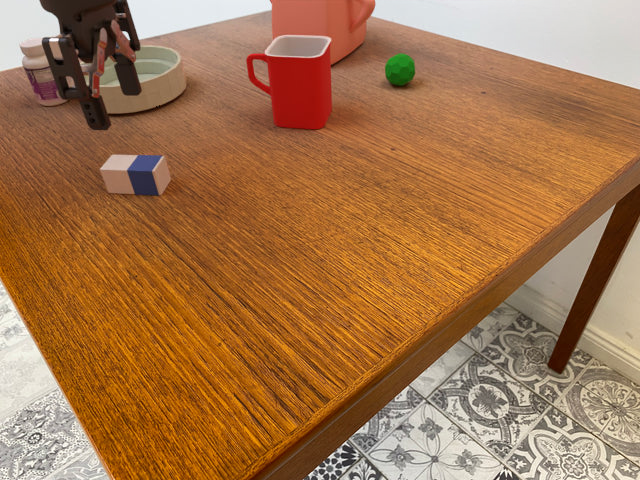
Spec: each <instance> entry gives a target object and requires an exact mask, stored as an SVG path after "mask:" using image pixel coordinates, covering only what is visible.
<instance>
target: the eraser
mask: <svg viewBox="0 0 640 480" xmlns="http://www.w3.org/2000/svg"><path fill="white" fill-rule="evenodd" d="M99 172H100V175H101V177H102V179H103V183H104V185H105V187H106V190H107V193H108V194H119V195H120V194H121V195H122V194H124V195H126V194H127V195H128V194H129V195H137V196H157V197H158V196H162V195H163V194H164V192H165V190H166V189H167V187H168V185H169V184H170V182H171V181H172V177H171V174H170V170H169V167H168V163H167V160H166V155H159V154H157V155H156V154H154V155H153V154H137V155H136V154H111V155H110V156H109V158H108V159H107V160H106V161H105V162H104V164H103V165H102V166H101V167H100V168H99Z"/></svg>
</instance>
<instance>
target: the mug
mask: <svg viewBox="0 0 640 480" xmlns="http://www.w3.org/2000/svg"><path fill="white" fill-rule="evenodd" d="M330 45H331V38H329V37H326V36H307V35H282V36H278V37H277V38H275V39H274V40H273V39H272V41H271V43H270V44H269V45H268V46H267V48H265V50H264V53H249V54H248V55H247V57H246V61H245V62H246V69H247V76H248V79H249V82H250V83H251V84H252V85H254V86H255V87H257V88H258V89H259V90H261V91H262V92H264V93H266V94H267V95H269V96H270V101H271V108H272V109H271V111H272V117H273V124H274V125H275V126H276V127H279V128H284V129H285V128H286V129H301V130H302V129H303V130H319V129H322V128H323V127H325V126H326V124H327V122H328V120H329V118H330V115H331V113H332V111H333V101H332V100H333V99H332V98H333V97H332V96H333V95H332V93H333V91H332V67H331V61H330ZM254 60H258V61H262V62H264V63H266V65H267V74H268V75H267V76H268V80H269V81H268V83H269V85H266V84H265V83H263V82H262V81H260V80H259V79H258V78H257V76H256V75H255V69H254Z"/></svg>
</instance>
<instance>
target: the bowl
mask: <svg viewBox="0 0 640 480" xmlns="http://www.w3.org/2000/svg"><path fill="white" fill-rule="evenodd" d="M140 46H141V48H140V51H135V55H136V61H135V62H134V65H135V68H136V72H137V75H138V78H139V82H140V85H141V89H142V92H141V93H140V94H139V95H138V96H126V95H124V94H123V93H122V90H121V87H120V84H119V80H118V77H117V74H116V71H115V68H114V65H115V64H116V63H117V62H113V61H112V60H111V59H110V57H109V56H108V58H107V60H106V61H105V62H104V74H103V75H102V76H100V94H99V95H101V96H102V99H103V102H104V104H105V107H106V110H107V113H108V114H130V113H137V112H144V111H147V110H151V109H154V108H157V107H159V105H160V106H162V105H165V104H167V103H169V102H171V101H173V100H175V99H176V98H178V96H180V95H182V94H183V93H184V91H185V90H186V88H187V84H188V80H187V77H186V72H185V67H184V63H183V62H184V61H183V58H182V55H181V54H180V52H179V51H178V50H175V49H174V48H170V47H167V46H164V45H163V46H162V45H155V44H148V45H146V44H143V45H141V44H140ZM91 64H92V63H85V62H83V61H80V65H91ZM84 78H85V81H86V84H87V86H89V75H84ZM156 106H157V107H156Z"/></svg>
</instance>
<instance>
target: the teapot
mask: <svg viewBox="0 0 640 480" xmlns="http://www.w3.org/2000/svg"><path fill="white" fill-rule="evenodd" d="M269 2H270V4H271V36H272V41H273V40H274V39H275V38H277V37H278V36H282V35H307V36H326V37H329V38H331V45H330V61H331V65H334V64H336V63H337V62H339V61H341V60H342V59H344V58H345V57H346V56H348V55H350V54H351V53H352V52H354V51H355V50H356V49H357V48H359V47H360V46H361V45H362V44H363V43H364V42H365V39H366V34H367V20H369V18H370V17H371V16H372V15H373V13H374V11H375V8H376V0H269Z"/></svg>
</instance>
